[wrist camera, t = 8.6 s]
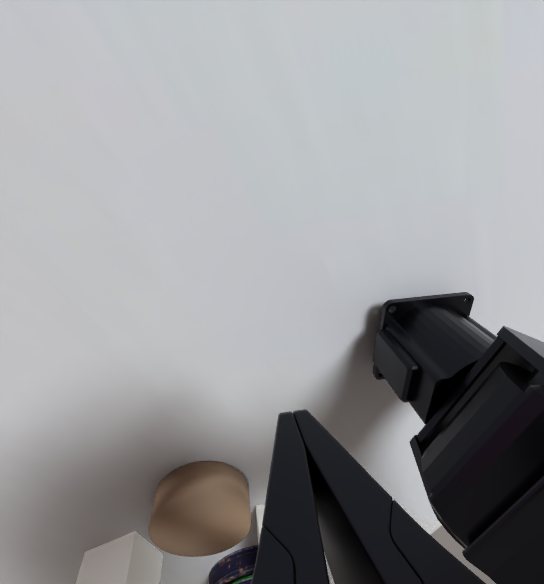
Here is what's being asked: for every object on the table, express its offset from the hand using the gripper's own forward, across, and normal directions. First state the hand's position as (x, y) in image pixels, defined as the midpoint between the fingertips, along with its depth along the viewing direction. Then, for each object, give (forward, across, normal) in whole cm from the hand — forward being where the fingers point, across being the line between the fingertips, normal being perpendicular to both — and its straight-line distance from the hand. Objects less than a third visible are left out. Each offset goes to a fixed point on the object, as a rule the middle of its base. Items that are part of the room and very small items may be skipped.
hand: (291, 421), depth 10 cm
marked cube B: (+12, +13, +28) cm, 33 cm away
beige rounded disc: (+12, +5, +21) cm, 25 cm away
